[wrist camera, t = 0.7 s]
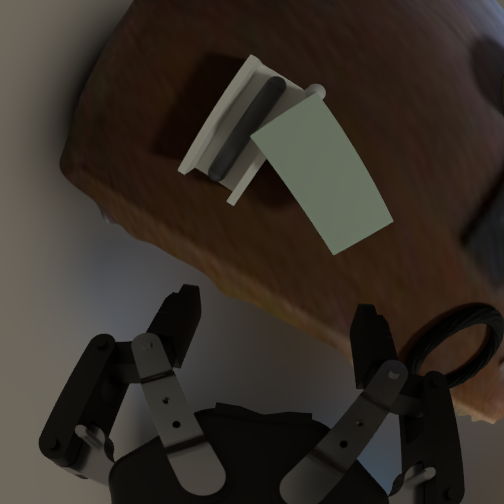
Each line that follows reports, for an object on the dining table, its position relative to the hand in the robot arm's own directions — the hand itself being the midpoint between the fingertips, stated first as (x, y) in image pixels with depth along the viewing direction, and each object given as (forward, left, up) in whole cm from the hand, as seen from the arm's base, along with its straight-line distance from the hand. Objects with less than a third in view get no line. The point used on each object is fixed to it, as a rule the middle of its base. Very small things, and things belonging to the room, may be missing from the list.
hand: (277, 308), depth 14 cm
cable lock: (+6, +54, -26) cm, 61 cm away
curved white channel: (-3, -8, -26) cm, 27 cm away
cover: (-5, +2, -20) cm, 21 cm away
